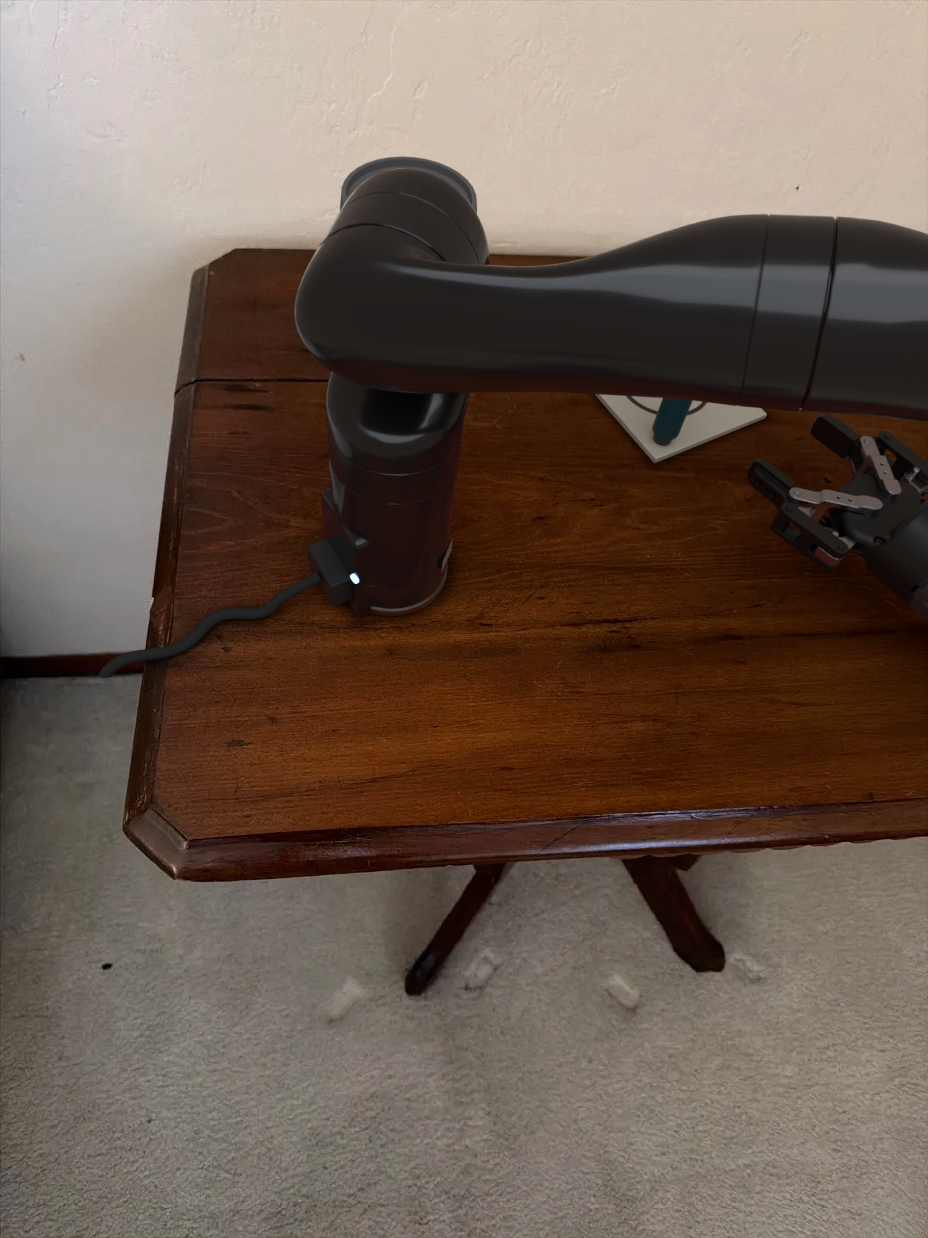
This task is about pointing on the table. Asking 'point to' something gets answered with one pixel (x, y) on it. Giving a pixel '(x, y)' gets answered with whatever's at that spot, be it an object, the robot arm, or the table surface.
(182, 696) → the table surface
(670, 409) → the marker
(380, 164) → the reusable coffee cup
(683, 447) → the sketch pad
